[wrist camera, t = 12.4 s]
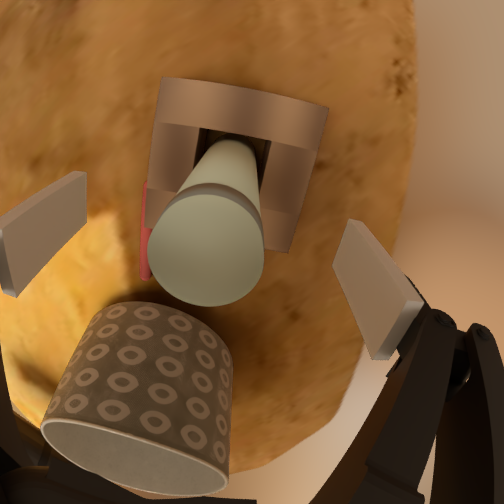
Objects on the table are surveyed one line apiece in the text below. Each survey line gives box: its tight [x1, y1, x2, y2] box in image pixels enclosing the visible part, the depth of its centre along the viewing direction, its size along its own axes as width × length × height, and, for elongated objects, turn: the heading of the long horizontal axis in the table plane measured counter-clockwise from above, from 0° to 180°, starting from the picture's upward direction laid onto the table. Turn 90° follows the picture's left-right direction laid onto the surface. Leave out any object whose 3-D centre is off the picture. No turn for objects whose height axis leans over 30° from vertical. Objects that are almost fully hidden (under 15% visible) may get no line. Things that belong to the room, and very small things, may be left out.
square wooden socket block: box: [144, 77, 329, 253], centre depth 24 cm, size 12×12×5 cm
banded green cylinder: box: [147, 133, 264, 307], centre depth 18 cm, size 4×4×18 cm
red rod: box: [140, 181, 153, 281], centre depth 29 cm, size 11×1×1 cm, turn 168°
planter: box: [40, 301, 233, 496], centre depth 29 cm, size 19×19×18 cm
